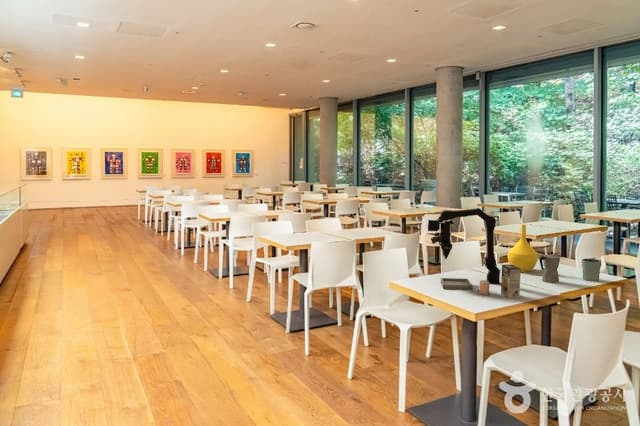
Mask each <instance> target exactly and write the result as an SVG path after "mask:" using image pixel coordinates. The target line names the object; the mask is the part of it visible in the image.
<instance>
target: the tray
mask: <svg viewBox="0 0 640 426" xmlns="http://www.w3.org/2000/svg"><path fill="white" fill-rule="evenodd" d="M440 285H441V287H442V289H443V290H466V291H467V290H468V291H469V290H473V285H472V282H471V281H470V280H469V278H459V277H458V278H457V277H456V278H455V277H454V278H453V277H449V278H448V277H441V278H440Z"/></svg>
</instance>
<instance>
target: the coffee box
mask: <svg viewBox="0 0 640 426" xmlns="http://www.w3.org/2000/svg"><path fill="white" fill-rule="evenodd" d="M521 273H522V272H521V268H519V267H517V266H515V265H510V264H508V263H507V264H501V280H500V284H501V285H500V288H501V290H500V293H501V294H502V295H503V296H504V297H506V298H507V299H520V291H521V290H520V289H521V288H520V287H521Z"/></svg>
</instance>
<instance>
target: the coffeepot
mask: <svg viewBox="0 0 640 426" xmlns="http://www.w3.org/2000/svg"><path fill="white" fill-rule="evenodd" d="M561 258H562V257H561V256H560V255H557V254H556V255H555V254H554V252H553V251H552V250H551V251H550V254H544V255H542V256H540V258H538V259H539V260H538V261H539V265H540V269H541V270H542V271H543V275H542V280H541V281H542V282H543V283H548V284H558V283H559V282H560V278H559V271H558V269H559V265H560V261H561Z"/></svg>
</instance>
